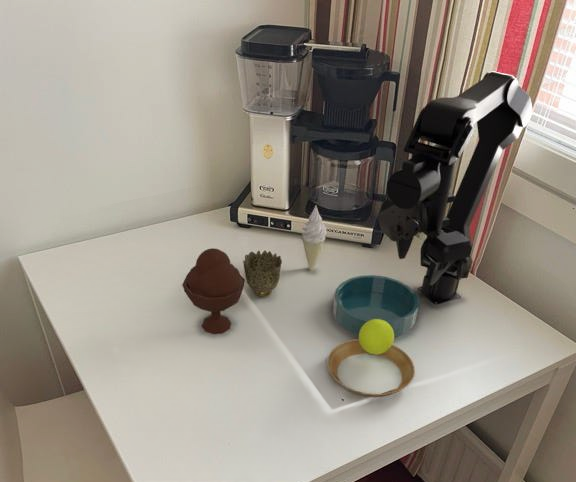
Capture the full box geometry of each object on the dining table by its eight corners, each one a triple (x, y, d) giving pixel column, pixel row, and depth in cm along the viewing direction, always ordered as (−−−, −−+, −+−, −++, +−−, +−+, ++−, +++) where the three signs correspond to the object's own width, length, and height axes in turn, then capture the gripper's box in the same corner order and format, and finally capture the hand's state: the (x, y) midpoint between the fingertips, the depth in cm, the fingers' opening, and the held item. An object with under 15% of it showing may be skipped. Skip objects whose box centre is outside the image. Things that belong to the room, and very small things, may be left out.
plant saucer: (365, 339, 113) (367, 327, 111) (429, 379, 105) (432, 367, 103) (308, 373, 105) (309, 362, 103) (373, 419, 97) (375, 407, 96)
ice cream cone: (327, 269, 130) (333, 204, 120) (315, 280, 127) (320, 213, 117) (307, 262, 132) (311, 197, 122) (294, 273, 129) (297, 206, 119)
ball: (373, 365, 106) (378, 339, 109) (398, 353, 102) (403, 326, 105) (348, 347, 104) (354, 321, 107) (373, 333, 99) (379, 306, 103)
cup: (276, 307, 119) (277, 272, 114) (239, 302, 120) (238, 267, 115) (284, 287, 125) (285, 252, 119) (249, 282, 126) (248, 247, 120)
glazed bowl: (386, 286, 126) (389, 268, 123) (431, 328, 116) (435, 310, 113) (318, 303, 121) (320, 285, 118) (359, 349, 110) (361, 331, 108)
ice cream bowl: (175, 325, 114) (166, 254, 104) (219, 301, 120) (215, 232, 110) (213, 351, 109) (208, 279, 99) (257, 324, 115) (257, 254, 105)
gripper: (359, 171, 101) (350, 254, 112) (424, 221, 89) (407, 309, 99) (415, 162, 105) (401, 243, 116) (485, 208, 93) (462, 294, 103)
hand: (416, 270), depth 108 cm, fingers open, 9 cm apart
